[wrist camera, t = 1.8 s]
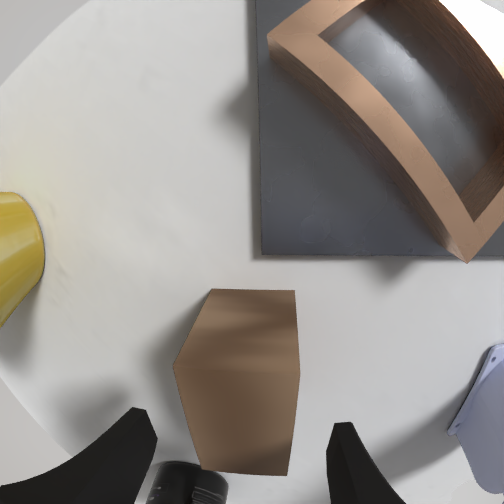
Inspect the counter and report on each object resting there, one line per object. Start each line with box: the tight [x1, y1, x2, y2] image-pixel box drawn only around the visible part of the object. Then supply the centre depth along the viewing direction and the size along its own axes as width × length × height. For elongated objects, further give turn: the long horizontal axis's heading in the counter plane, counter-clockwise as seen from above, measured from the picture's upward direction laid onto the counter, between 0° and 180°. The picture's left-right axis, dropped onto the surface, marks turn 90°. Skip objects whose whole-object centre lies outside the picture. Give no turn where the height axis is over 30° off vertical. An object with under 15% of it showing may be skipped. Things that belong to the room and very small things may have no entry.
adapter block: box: [173, 289, 300, 476], centre depth 12 cm, size 4×7×6 cm, turn 1°
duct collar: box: [256, 0, 504, 263], centre depth 9 cm, size 15×15×3 cm
